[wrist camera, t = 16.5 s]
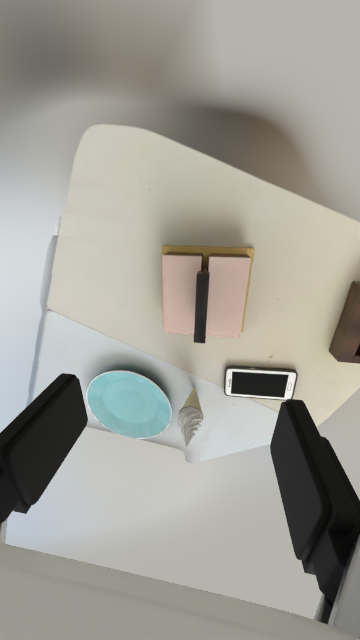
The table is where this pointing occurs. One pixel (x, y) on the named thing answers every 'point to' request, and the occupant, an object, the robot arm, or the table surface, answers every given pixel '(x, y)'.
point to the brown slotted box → (348, 329)
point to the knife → (201, 305)
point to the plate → (129, 404)
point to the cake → (224, 288)
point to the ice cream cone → (190, 416)
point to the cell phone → (260, 383)
